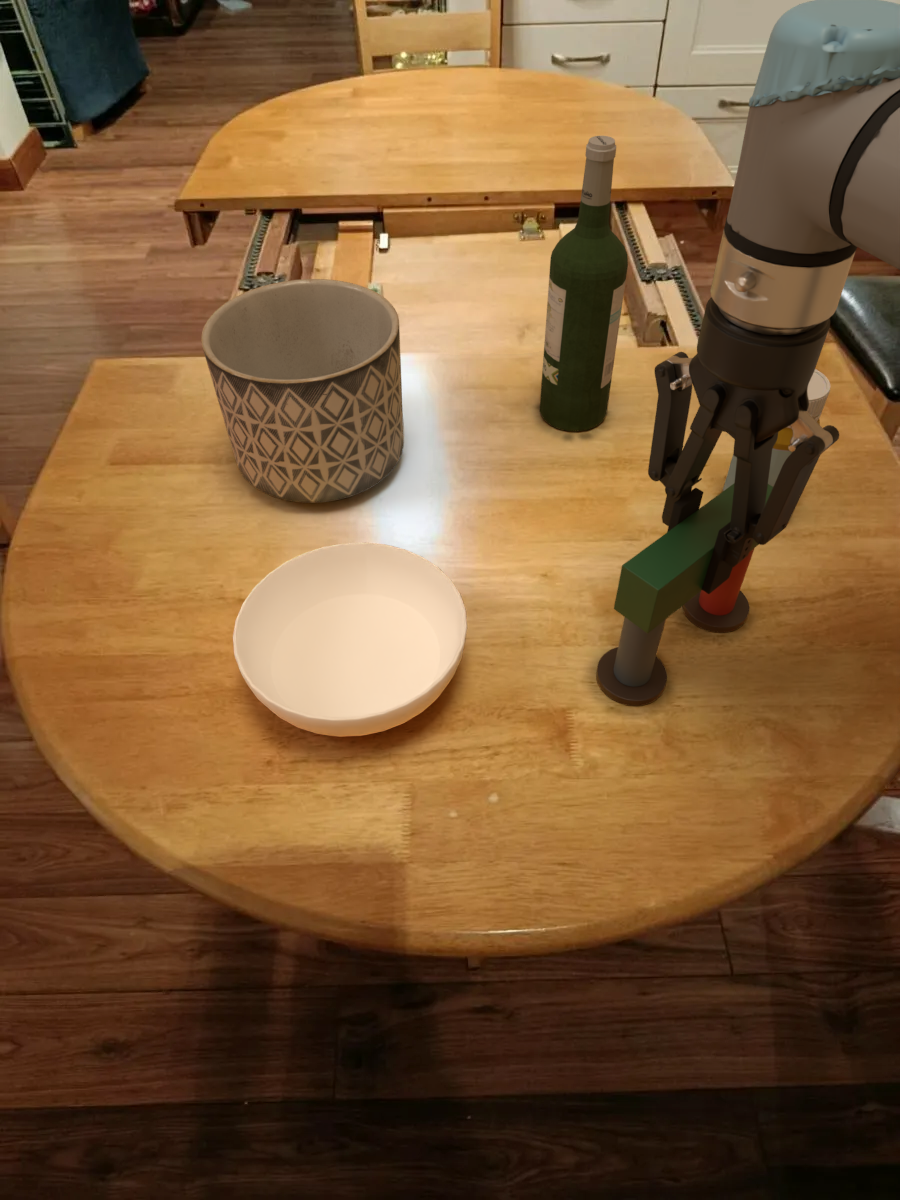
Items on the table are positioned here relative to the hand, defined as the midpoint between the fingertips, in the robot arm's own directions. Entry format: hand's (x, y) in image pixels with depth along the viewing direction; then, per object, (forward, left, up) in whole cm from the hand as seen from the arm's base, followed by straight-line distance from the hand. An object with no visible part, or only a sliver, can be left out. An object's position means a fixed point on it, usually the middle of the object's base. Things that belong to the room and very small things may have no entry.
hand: (694, 569), depth 70 cm
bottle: (+6, -21, -10) cm, 24 cm away
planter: (+43, +8, -10) cm, 45 cm away
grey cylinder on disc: (0, +6, -9) cm, 11 cm away
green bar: (0, 0, 0) cm, 0 cm away
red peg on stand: (0, -6, -9) cm, 11 cm away
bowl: (+17, +23, -10) cm, 30 cm away
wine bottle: (+30, -19, -10) cm, 37 cm away
